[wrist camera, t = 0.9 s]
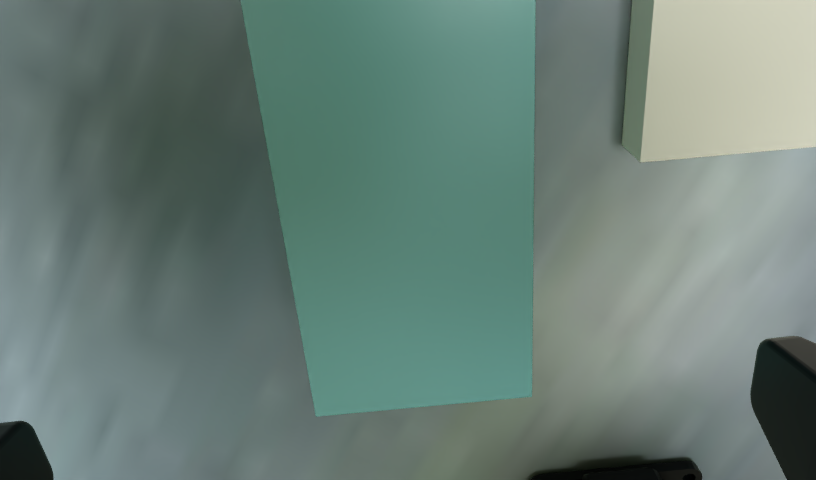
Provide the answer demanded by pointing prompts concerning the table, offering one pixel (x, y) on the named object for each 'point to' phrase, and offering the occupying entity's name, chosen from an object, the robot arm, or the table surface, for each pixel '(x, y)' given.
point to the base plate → (719, 78)
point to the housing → (403, 193)
